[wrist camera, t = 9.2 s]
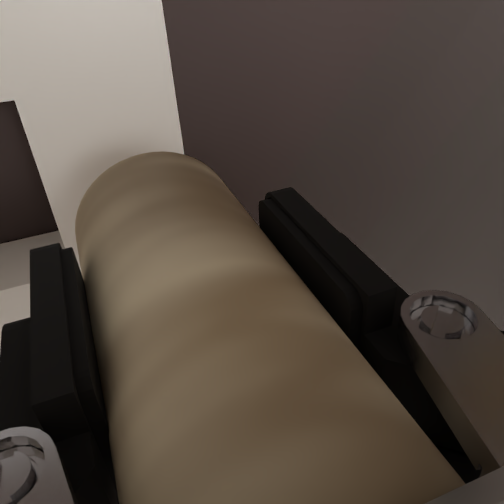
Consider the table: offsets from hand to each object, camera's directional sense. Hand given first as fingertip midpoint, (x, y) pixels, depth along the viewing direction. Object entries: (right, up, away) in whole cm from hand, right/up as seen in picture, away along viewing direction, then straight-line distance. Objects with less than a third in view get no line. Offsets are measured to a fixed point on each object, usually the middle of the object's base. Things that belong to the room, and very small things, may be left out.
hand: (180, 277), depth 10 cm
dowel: (-1, +1, +2) cm, 2 cm away
